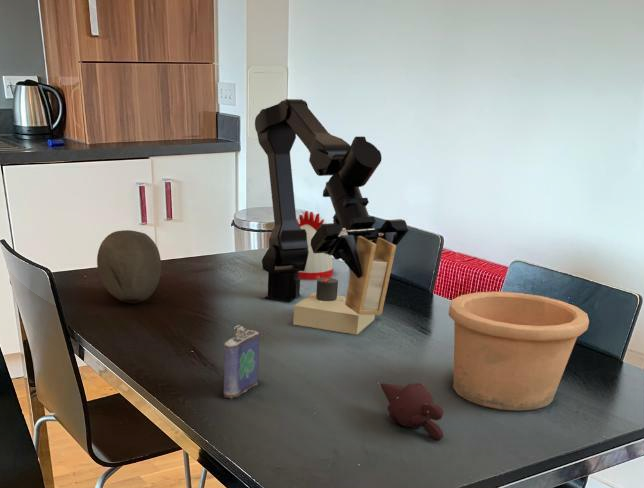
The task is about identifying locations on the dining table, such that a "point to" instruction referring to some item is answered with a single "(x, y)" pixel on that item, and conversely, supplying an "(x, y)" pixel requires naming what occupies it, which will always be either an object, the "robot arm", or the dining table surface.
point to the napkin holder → (371, 277)
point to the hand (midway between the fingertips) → (373, 275)
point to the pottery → (512, 347)
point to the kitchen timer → (316, 263)
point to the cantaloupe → (129, 265)
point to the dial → (327, 289)
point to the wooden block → (329, 315)
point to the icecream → (413, 407)
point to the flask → (241, 362)
